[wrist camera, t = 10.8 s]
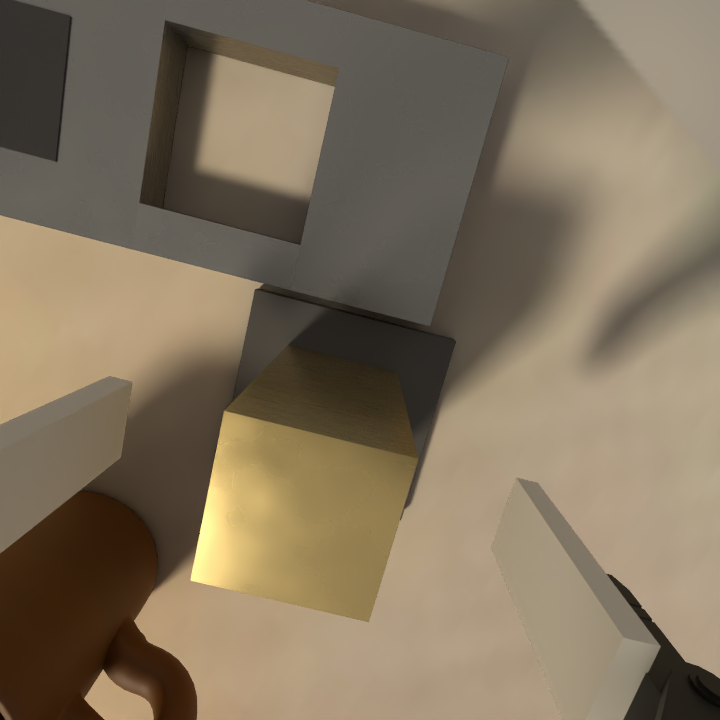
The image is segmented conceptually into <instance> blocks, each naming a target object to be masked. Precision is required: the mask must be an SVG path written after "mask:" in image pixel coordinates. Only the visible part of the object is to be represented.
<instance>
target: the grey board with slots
mask: <svg viewBox="0 0 720 720" xmlns="http://www.w3.org/2000/svg"><path fill="white" fill-rule="evenodd" d="M187 46H190V47H193V48H197V49H201V50H204V51H208V52H211V53H215V54H219V55H222V56H226V57H230V58H233V59H237V60H241V61H244V62H248V63H251V64H255V65H259V66H262V67H266V68H270V69H273V70H277V71H281V72H284V73H288V74H292V75H295V76H299V77H302V78H306V79H310V80H313V81H317V82H321V83H324V84H328V85H332V86H335V90H334V94H333V99H332V104H331V108H330V113H329V117H328V122H327V126H326V131H325V135H324V140H323V144H322V149H321V153H320V158H319V163H318V167H317V172H316V176H315V181H314V185H313V190H312V194H311V199H310V203H309V208H308V212H307V217H306V222H305V226H304V231H303V235H302V240H301V244H300V245H299V244H295V243H291V242H287V241H284V240H280V239H276V238H272V237H268V236H265V235H261V234H257V233H253V232H249V231H246V230H242V229H238V228H234V227H230V226H226V225H223V224H219V223H215V222H211V221H207V220H204V219H200V218H196V217H192V216H188V215H185V214H181V213H177V212H173V211H169V210H166V209H162V208H163V201H164V195H165V188H166V181H167V175H168V168H169V162H170V155H171V149H172V142H173V136H174V129H175V122H176V116H177V109H178V103H179V96H180V90H181V83H182V77H183V70H184V63H185V57H186V50H187ZM508 59H509V57H507V56H503V55H500V54H496V53H493V52H489V51H486V50H482V49H478V48H475V47H471V46H468V45H464V44H461V43H457V42H454V41H450V40H446V39H443V38H439V37H436V36H432V35H429V34H425V33H421V32H418V31H414V30H411V29H407V28H404V27H400V26H397V25H393V24H389V23H386V22H382V21H379V20H375V19H372V18H368V17H364V16H361V15H357V14H354V13H350V12H347V11H343V10H340V9H336V8H332V7H329V6H325V5H322V4H318V3H315V2H311V1H307V0H0V215H2V216H6V217H9V218H13V219H17V220H21V221H25V222H29V223H33V224H37V225H40V226H44V227H48V228H52V229H56V230H60V231H64V232H67V233H71V234H75V235H79V236H83V237H87V238H91V239H94V240H98V241H102V242H106V243H110V244H114V245H118V246H121V247H125V248H129V249H133V250H137V251H141V252H145V253H149V254H152V255H156V256H160V257H164V258H168V259H172V260H176V261H179V262H183V263H187V264H191V265H195V266H199V267H203V268H206V269H210V270H214V271H218V272H222V273H226V274H230V275H233V276H237V277H241V278H245V279H249V280H253V281H257V282H261V283H264V284H268V285H272V286H276V287H280V288H284V289H288V290H291V291H295V292H299V293H303V294H307V295H311V296H315V297H318V298H322V299H326V300H330V301H334V302H338V303H342V304H345V305H349V306H353V307H357V308H361V309H365V310H369V311H373V312H376V313H380V314H384V315H388V316H392V317H396V318H400V319H403V320H407V321H411V322H415V323H419V324H423V325H427V326H430V325H431V322H432V319H433V315H434V312H435V308H436V305H437V302H438V298H439V295H440V291H441V288H442V284H443V281H444V278H445V274H446V271H447V267H448V264H449V261H450V257H451V254H452V250H453V247H454V243H455V240H456V237H457V233H458V230H459V226H460V223H461V220H462V216H463V213H464V209H465V206H466V202H467V199H468V196H469V192H470V189H471V185H472V182H473V179H474V175H475V172H476V168H477V165H478V161H479V158H480V155H481V151H482V148H483V144H484V141H485V138H486V134H487V131H488V127H489V124H490V121H491V117H492V114H493V110H494V107H495V103H496V100H497V97H498V93H499V90H500V86H501V83H502V80H503V76H504V73H505V69H506V66H507V62H508Z"/></svg>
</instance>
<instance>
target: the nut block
mask: <svg viewBox="0 0 720 720" xmlns="http://www.w3.org/2000/svg"><path fill="white" fill-rule="evenodd" d="M417 462H418V455H417V451H416V447H415V442H414V438H413V434H412V430H411V426H410V422H409V418H408V414H407V409H406V405H405V401H404V397H403V393H402V389H401V385H400V381H399V376H398V372H394V371H390V370H386V369H382V368H378V367H374V366H370V365H367V364H363V363H359V362H355V361H351V360H347V359H343V358H339V357H335V356H331V355H327V354H323V353H319V352H315V351H311V350H307V349H303V348H299V347H295V346H291V345H287V346H286V347H285V348H284V349H283V350H282V352H281V353H280V354H279V355H278V356H277V357H276V358H275V359H274V360H273V361H272V362H271V363H270V364H269V365H268V366H267V367H266V368H265V369H264V370H263V371H262V372H261V373H260V374H259V375H258V376H257V377H256V378H255V379H254V380H253V381H252V383H251V384H250V385H249V386H248V387H247V388H246V389H245V390H244V391H243V392H242V393H241V394H240V395H239V396H238V397H237V398H236V399H235V400H234V401H233V402H232V403H231V404H230V405H229V406H228V407H227V408H226V409H225V410H224V414H223V419H222V424H221V429H220V434H219V439H218V444H217V449H216V454H215V459H214V464H213V469H212V474H211V480H210V485H209V490H208V495H207V500H206V505H205V510H204V515H203V520H202V525H201V530H200V535H199V540H198V545H197V550H196V555H195V560H194V566H193V571H192V576H191V581H195V582H200V583H204V584H208V585H212V586H217V587H221V588H225V589H229V590H234V591H238V592H242V593H247V594H251V595H255V596H259V597H264V598H268V599H272V600H276V601H281V602H285V603H289V604H294V605H298V606H302V607H306V608H311V609H315V610H319V611H324V612H328V613H332V614H336V615H341V616H345V617H349V618H353V619H358V620H362V621H366V622H369V620H370V616H371V613H372V610H373V606H374V603H375V600H376V597H377V593H378V590H379V587H380V584H381V580H382V577H383V574H384V570H385V567H386V564H387V561H388V557H389V554H390V551H391V547H392V544H393V541H394V538H395V534H396V531H397V528H398V524H399V521H400V518H401V515H402V511H403V508H404V505H405V501H406V498H407V495H408V492H409V488H410V485H411V482H412V478H413V475H414V472H415V469H416V465H417Z"/></svg>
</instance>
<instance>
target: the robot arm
mask: <svg viewBox="0 0 720 720" xmlns="http://www.w3.org/2000/svg"><path fill="white" fill-rule="evenodd" d="M131 388H132V382H131V381H127V380H123V379H119V378H115V377H111V376H109V377H106V378H104V379H102V380H100V381H97V382H95V383H93V384H91V385H88V386H86V387H84V388H82V389H79V390H77V391H75V392H73V393H71V394H68V395H66V396H64V397H62V398H59V399H57V400H55V401H53V402H50V403H48V404H46V405H44V406H41V407H39V408H37V409H35V410H32V411H30V412H28V413H26V414H23V415H21V416H19V417H17V418H14V419H12V420H10V421H8V422H5V423H3V424H1V425H0V553H1V552H3V551H4V550H5V549H7V548H8V547H9V546H10V545H12V544H13V543H14V542H15V541H17V540H18V539H19V538H20V537H22V536H23V535H24V534H25V533H27V532H28V531H29V530H30V529H32V528H33V527H34V526H36V525H37V524H38V523H39V522H41V521H42V520H43V519H44V518H46V517H47V516H48V515H49V514H51V513H52V512H53V511H54V510H56V509H57V508H58V507H59V506H61V505H62V504H63V503H64V502H66V501H67V500H68V499H70V498H71V497H72V496H73V495H75V494H76V493H77V492H78V491H80V490H81V489H82V488H83V487H85V486H86V485H87V484H88V483H90V482H91V481H92V480H93V479H95V478H96V477H97V476H99V475H100V474H101V473H102V472H104V471H105V470H106V469H107V468H109V467H110V466H111V465H112V464H114V463H115V462H116V461H117V460H119V459H120V458H121V455H122V448H123V441H124V435H125V428H126V422H127V415H128V408H129V402H130V395H131ZM491 549H492V552H493V554H494V557H495V559H496V561H497V564H498V566H499V568H500V571H501V573H502V576H503V578H504V580H505V583H506V585H507V588H508V590H509V592H510V595H511V597H512V599H513V602H514V604H515V607H516V609H517V611H518V614H519V616H520V619H521V621H522V623H523V626H524V628H525V631H526V633H527V635H528V638H529V640H530V642H531V645H532V647H533V650H534V652H535V654H536V657H537V659H538V662H539V664H540V666H541V669H542V671H543V673H544V676H545V678H546V681H547V683H548V685H549V688H550V690H551V693H552V695H553V697H554V700H555V702H556V705H557V707H558V709H559V712H560V714H561V716H562V719H563V720H720V679H719V678H718V677H716V676H715V675H714V674H712V673H710V672H708V671H706V670H705V669H703V668H701V667H699V666H696V665H693V664H690V663H687V662H685V661H684V659H683V658H682V657H681V656H680V654H679V653H678V652H677V651H676V649H675V648H674V647H673V645H672V644H671V643H670V642H669V640H668V639H667V638H666V637H665V635H664V634H663V633H662V631H661V630H660V629H659V628H658V626H657V625H656V624H655V623H654V622H652V619H651V617H650V616H649V615H648V614H647V612H646V611H645V610H644V609H642V608H641V607H642V606H641V605H640V603H639V602H638V601H637V600H636V598H635V597H634V596H633V594H632V593H631V592H630V591H629V590H628V589H627V588H626V587H625V586H624V585H623V584H621V583H620V582H619V581H618V580H617V579H616V578H614V577H613V576H612V575H610V574H606V573H605V572H604V570H603V569H602V568H601V566H600V565H599V564H598V562H597V561H596V560H595V558H594V557H593V556H592V554H591V553H590V552H589V550H588V549H587V548H586V546H585V545H584V544H583V542H582V541H581V540H580V538H579V537H578V536H577V534H576V533H575V532H574V530H573V529H572V528H571V526H570V525H569V524H568V522H567V521H566V520H565V518H564V517H563V516H562V514H561V513H560V512H559V510H558V509H557V508H556V506H555V505H554V504H553V502H552V501H551V500H550V498H549V497H548V496H547V494H546V493H545V492H544V490H543V489H542V488H541V486H540V485H539V484H538V483H536V482H532V481H528V480H524V479H520V478H516V479H515V482H514V485H513V488H512V490H511V493H510V496H509V499H508V501H507V504H506V507H505V510H504V512H503V515H502V518H501V521H500V523H499V526H498V529H497V532H496V535H495V537H494V540H493V543H492V546H491Z"/></svg>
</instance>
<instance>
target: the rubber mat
mask: <svg viewBox="0 0 720 720" xmlns="http://www.w3.org/2000/svg"><path fill="white" fill-rule="evenodd" d="M455 343H456V341H455V340H454V339H451V338H447V337H444V336H440V335H436V334H432V333H428V332H424V331H420V330H416V329H413V328H409V327H405V326H401V325H397V324H393V323H389V322H386V321H382V320H378V319H374V318H370V317H366V316H362V315H358V314H355V313H351V312H347V311H343V310H339V309H335V308H331V307H327V306H324V305H320V304H316V303H312V302H308V301H304V300H300V299H297V298H293V297H289V296H285V295H281V294H277V293H273V292H269V291H266V290H262V289H255V292H254V297H253V302H252V307H251V312H250V317H249V322H248V327H247V332H246V336H245V341H244V346H243V351H242V356H241V361H240V366H239V371H238V376H237V381H236V386H235V391H234V396H233V400H232V402H233V401H234V400H235V399H236V398H237V397H238V396H239V395H240V394H241V393H242V392H243V391H244V390H245V389H246V388H247V387H248V386H249V385H250V384H251V383H252V381H253V380H254V379H255V378H256V377H257V376H258V375H259V374H260V373H261V372H262V371H263V370H264V369H265V368H266V367H267V366H268V365H269V364H270V363H271V362H272V361H273V360H274V359H275V358H276V357H277V356H278V355H279V354H280V353H281V352H282V350H283V349H284V348H285V347H286V346H287V345H291V346H295V347H299V348H303V349H307V350H311V351H315V352H319V353H323V354H327V355H331V356H335V357H339V358H343V359H347V360H351V361H355V362H359V363H363V364H367V365H370V366H374V367H378V368H382V369H386V370H390V371H394V372H398V376H399V381H400V385H401V389H402V393H403V397H404V401H405V405H406V409H407V414H408V418H409V422H410V426H411V430H412V434H413V438H414V442H415V447H416V451H417V455H418V462H417V465H416V469H417V466H418V463H419V460H420V456H421V453H422V450H423V447H424V443H425V440H426V437H427V434H428V430H429V427H430V424H431V421H432V417H433V414H434V411H435V408H436V404H437V401H438V398H439V395H440V391H441V388H442V385H443V382H444V378H445V375H446V372H447V369H448V365H449V362H450V359H451V356H452V352H453V349H454V346H455ZM416 469H415V472H414V475H413V478H412V482H413V479H414V476H415V473H416ZM412 482H411V485H410V488H409V492H410V489H411V486H412ZM409 492H408V495H409ZM408 495H407V498H406V501H405V505H406V502H407V499H408ZM405 505H404V508H405ZM404 508H403V511H402V515H403V512H404ZM402 515H401V518H402ZM401 518H400V520H401Z"/></svg>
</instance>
